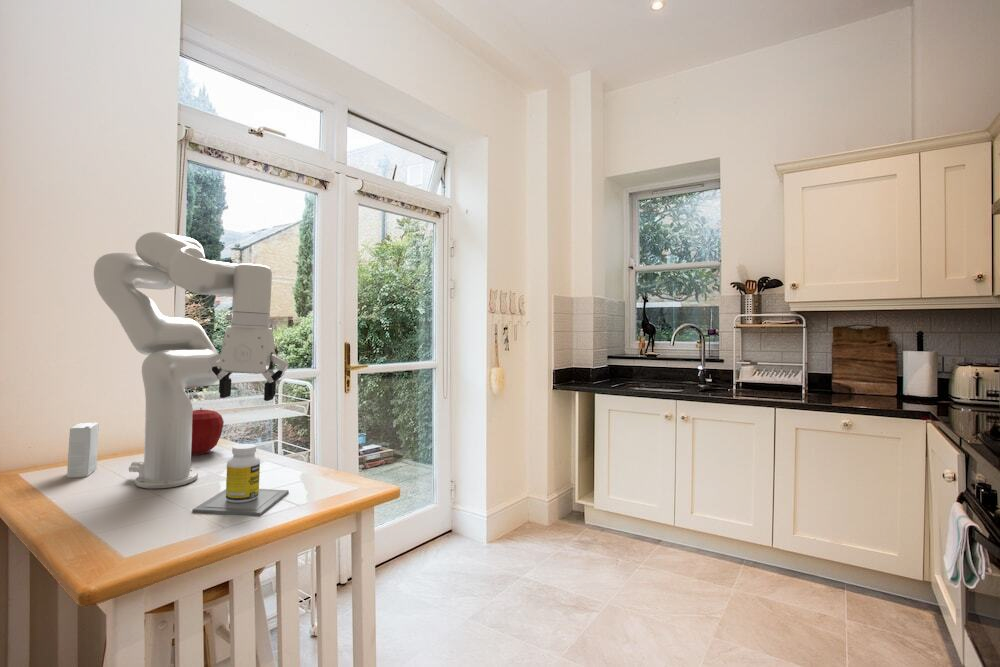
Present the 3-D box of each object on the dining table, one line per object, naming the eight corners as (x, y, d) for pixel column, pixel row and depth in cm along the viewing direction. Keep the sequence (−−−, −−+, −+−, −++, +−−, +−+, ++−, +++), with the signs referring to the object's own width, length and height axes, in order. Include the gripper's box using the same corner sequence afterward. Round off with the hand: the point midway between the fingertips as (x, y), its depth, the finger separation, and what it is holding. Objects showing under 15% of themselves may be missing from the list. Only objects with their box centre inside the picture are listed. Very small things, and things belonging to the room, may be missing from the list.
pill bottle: (245, 505, 108) (247, 451, 108) (218, 502, 109) (220, 448, 109) (265, 495, 114) (267, 444, 114) (239, 492, 115) (241, 441, 115)
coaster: (192, 512, 105) (192, 508, 105) (228, 489, 119) (228, 486, 119) (260, 515, 105) (260, 512, 105) (288, 492, 119) (288, 489, 119)
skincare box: (75, 471, 127) (77, 422, 126) (98, 469, 128) (99, 422, 128) (66, 478, 121) (67, 427, 121) (89, 477, 123) (90, 427, 122)
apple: (228, 454, 148) (230, 408, 147) (183, 460, 139) (184, 412, 139) (214, 445, 156) (216, 402, 156) (170, 451, 148) (172, 405, 147)
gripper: (201, 318, 108) (197, 398, 108) (282, 323, 108) (278, 403, 108) (221, 318, 115) (217, 393, 116) (297, 323, 115) (293, 398, 116)
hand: (247, 398), depth 112 cm, fingers open, 9 cm apart
